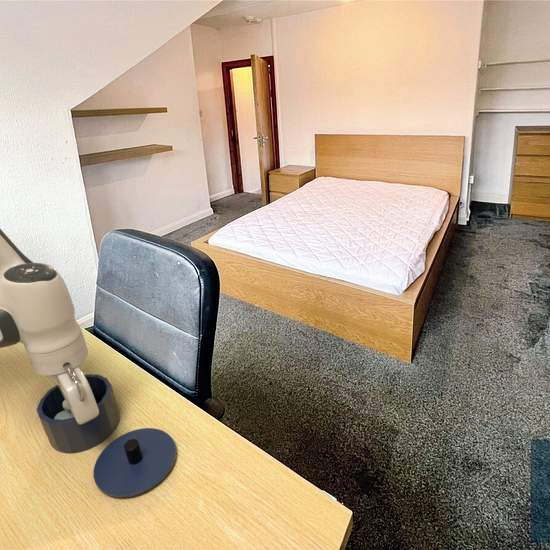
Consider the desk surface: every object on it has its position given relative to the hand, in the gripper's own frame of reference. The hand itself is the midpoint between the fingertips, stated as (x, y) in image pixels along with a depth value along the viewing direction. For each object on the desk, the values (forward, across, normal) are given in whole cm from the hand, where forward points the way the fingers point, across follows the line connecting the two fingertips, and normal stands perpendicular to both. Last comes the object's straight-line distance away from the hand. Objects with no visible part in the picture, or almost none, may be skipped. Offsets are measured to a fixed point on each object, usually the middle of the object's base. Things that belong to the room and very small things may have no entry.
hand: (80, 411), depth 77 cm
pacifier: (+3, +1, 0) cm, 3 cm away
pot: (+4, 0, 0) cm, 4 cm away
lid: (+3, -15, -4) cm, 16 cm away
